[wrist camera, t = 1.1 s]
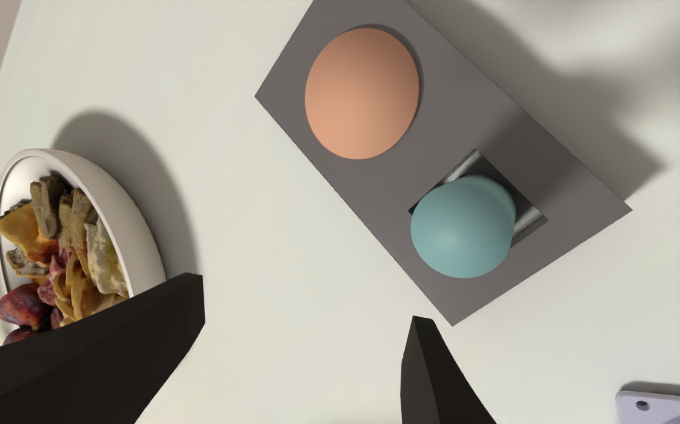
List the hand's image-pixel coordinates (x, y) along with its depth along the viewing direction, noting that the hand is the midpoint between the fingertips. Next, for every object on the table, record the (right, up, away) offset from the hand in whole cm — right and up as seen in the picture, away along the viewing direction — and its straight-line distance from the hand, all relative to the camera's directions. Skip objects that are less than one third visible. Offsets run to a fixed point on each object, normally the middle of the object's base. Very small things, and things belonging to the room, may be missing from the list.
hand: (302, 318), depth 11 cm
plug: (+9, +4, +8) cm, 13 cm away
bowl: (-27, -4, +30) cm, 41 cm away
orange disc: (+2, +10, +8) cm, 13 cm away
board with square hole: (+5, +8, +9) cm, 13 cm away
